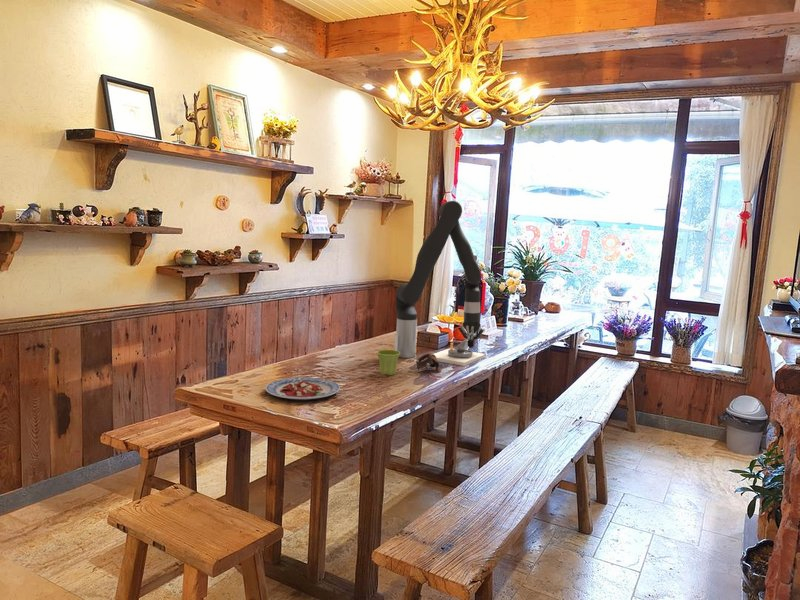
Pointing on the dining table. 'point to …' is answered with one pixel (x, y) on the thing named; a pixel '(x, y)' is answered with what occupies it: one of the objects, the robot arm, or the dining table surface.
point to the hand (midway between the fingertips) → (470, 347)
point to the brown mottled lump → (430, 360)
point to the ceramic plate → (302, 388)
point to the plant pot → (388, 361)
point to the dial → (460, 351)
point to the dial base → (444, 357)
